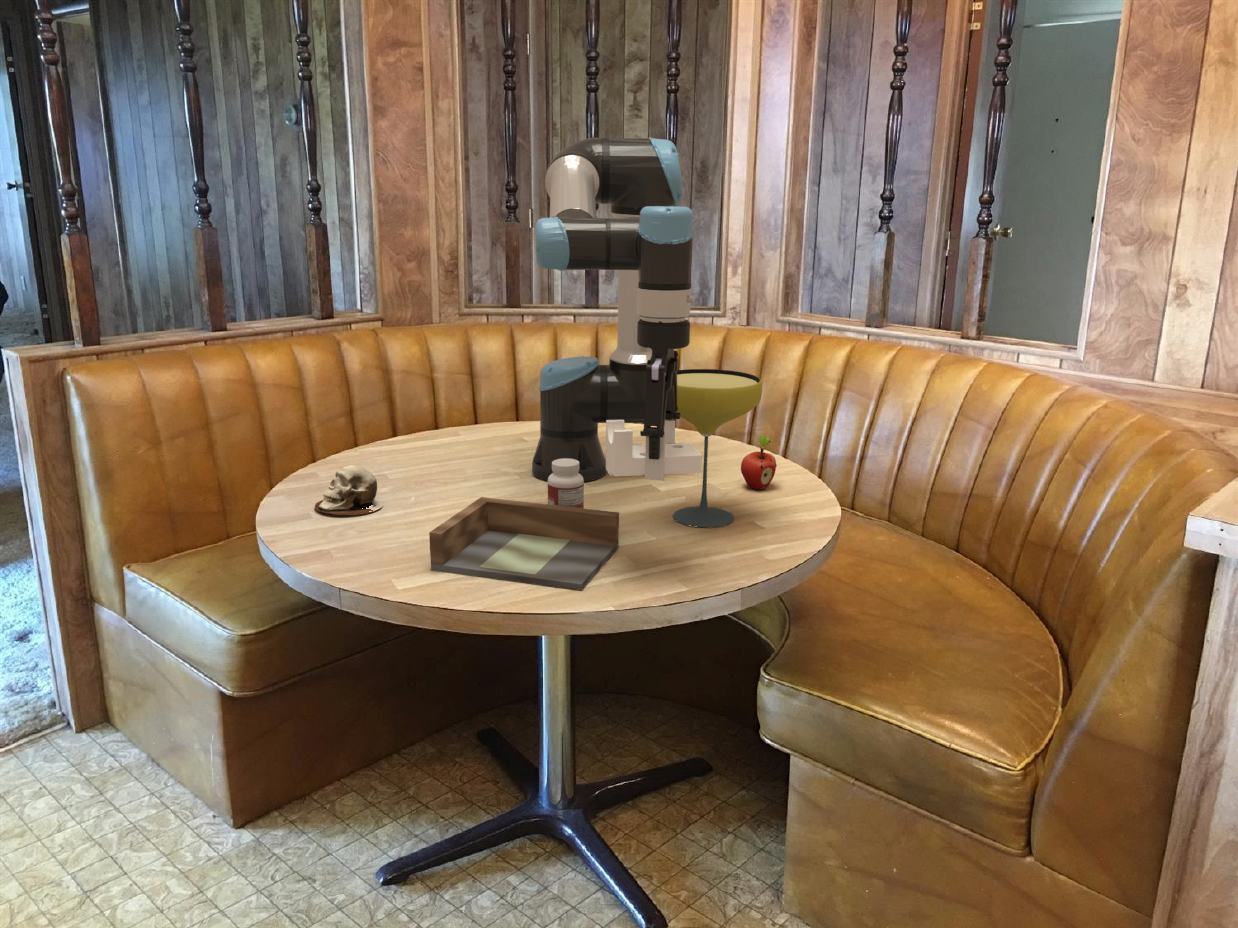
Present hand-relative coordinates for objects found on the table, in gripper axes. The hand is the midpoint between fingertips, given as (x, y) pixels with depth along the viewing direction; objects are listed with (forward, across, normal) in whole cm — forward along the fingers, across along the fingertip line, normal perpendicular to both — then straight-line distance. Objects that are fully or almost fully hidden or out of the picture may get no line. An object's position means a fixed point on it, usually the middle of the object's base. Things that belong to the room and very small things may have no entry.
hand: (660, 469), depth 139 cm
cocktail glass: (+16, +24, -4) cm, 29 cm away
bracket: (+1, 0, +1) cm, 1 cm away
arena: (+15, -2, +20) cm, 25 cm away
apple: (+16, +44, -12) cm, 48 cm away
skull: (+16, +14, +59) cm, 62 cm away
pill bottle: (+16, +15, +18) cm, 28 cm away
